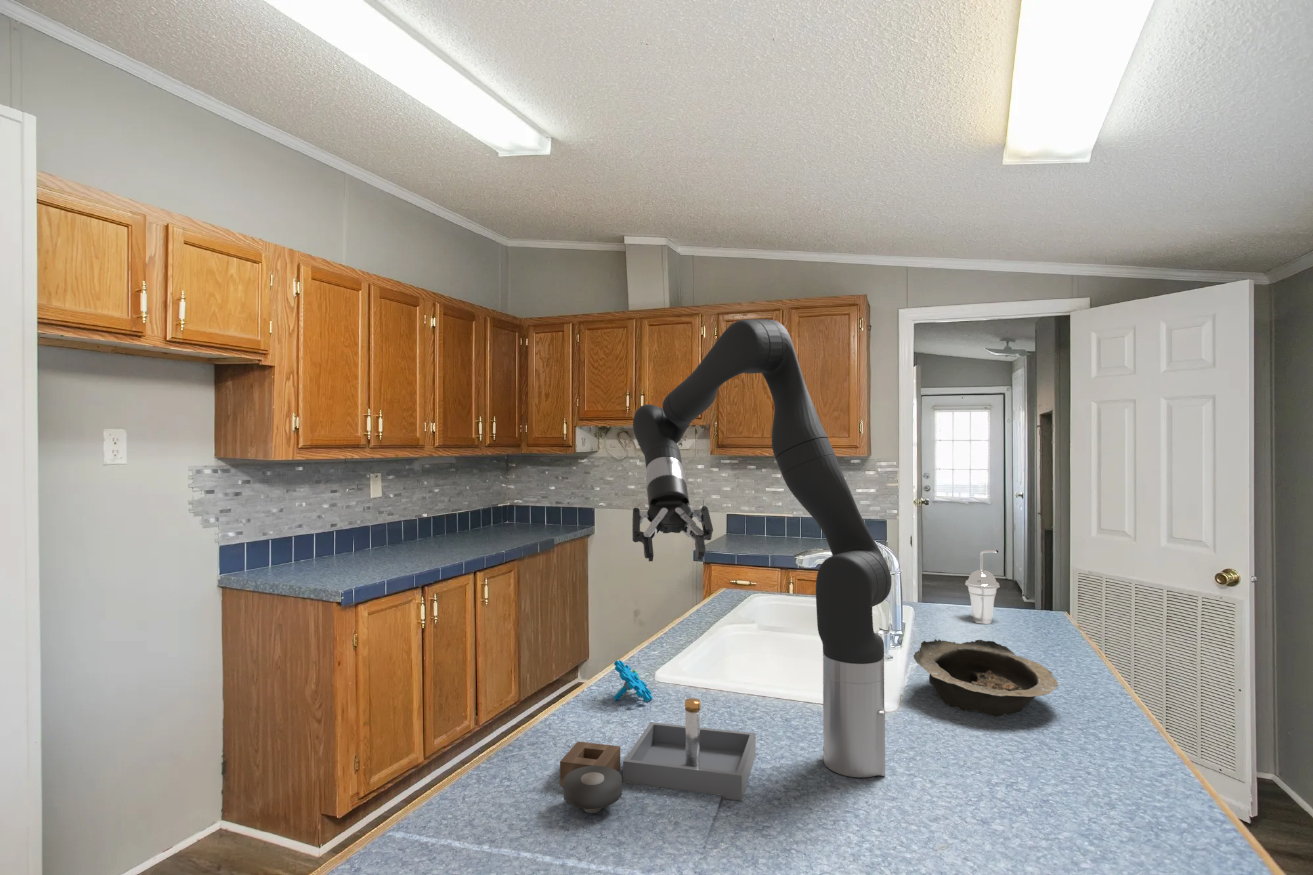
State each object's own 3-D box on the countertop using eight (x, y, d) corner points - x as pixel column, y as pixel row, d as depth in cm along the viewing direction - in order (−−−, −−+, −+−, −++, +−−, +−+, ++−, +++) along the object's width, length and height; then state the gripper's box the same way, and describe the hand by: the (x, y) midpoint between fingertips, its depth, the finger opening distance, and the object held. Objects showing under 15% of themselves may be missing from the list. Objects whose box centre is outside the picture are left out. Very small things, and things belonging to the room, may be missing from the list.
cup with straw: (992, 617, 198) (992, 544, 197) (1005, 626, 189) (1005, 550, 188) (960, 617, 198) (960, 544, 198) (971, 626, 189) (971, 550, 189)
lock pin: (701, 763, 112) (701, 699, 112) (698, 770, 110) (698, 704, 110) (686, 761, 113) (686, 697, 113) (683, 768, 111) (683, 703, 110)
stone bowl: (918, 670, 155) (922, 628, 154) (1051, 698, 144) (1055, 652, 144) (904, 710, 132) (908, 660, 132) (1059, 745, 122) (1064, 691, 121)
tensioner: (644, 775, 110) (644, 744, 110) (610, 831, 95) (610, 795, 94) (577, 766, 113) (577, 736, 113) (534, 819, 97) (534, 785, 97)
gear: (652, 702, 135) (615, 662, 136) (630, 724, 134) (593, 684, 136) (657, 689, 146) (622, 652, 147) (636, 710, 145) (602, 673, 147)
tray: (755, 755, 116) (755, 733, 116) (741, 800, 102) (741, 775, 102) (650, 743, 121) (650, 722, 121) (623, 785, 107) (623, 761, 107)
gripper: (629, 474, 132) (635, 546, 121) (706, 472, 134) (719, 544, 123) (628, 500, 138) (633, 571, 127) (701, 498, 139) (713, 569, 128)
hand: (675, 558), depth 125 cm, fingers open, 8 cm apart
